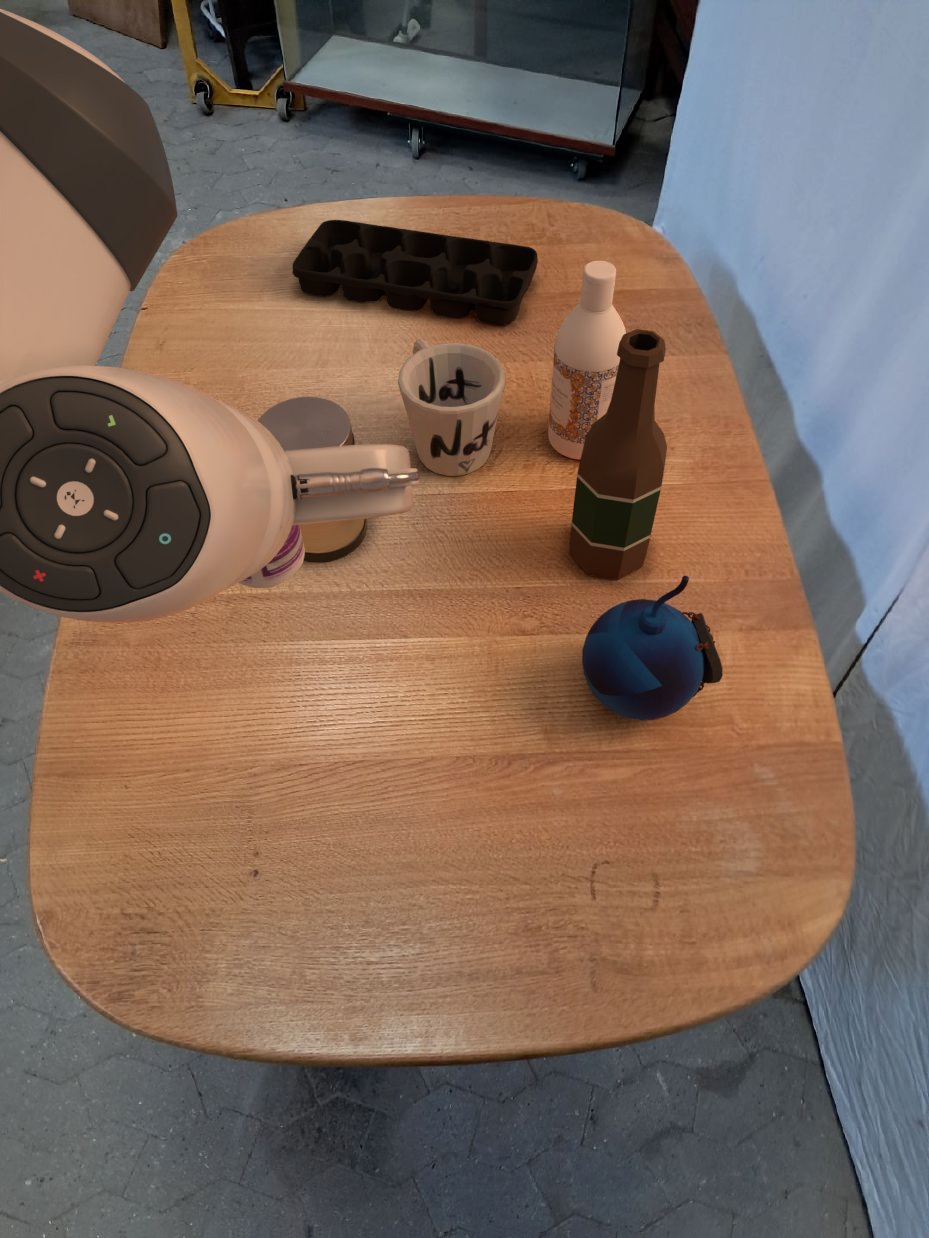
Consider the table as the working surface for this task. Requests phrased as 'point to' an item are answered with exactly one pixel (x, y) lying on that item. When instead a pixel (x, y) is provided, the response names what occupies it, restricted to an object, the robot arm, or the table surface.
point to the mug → (452, 404)
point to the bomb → (649, 657)
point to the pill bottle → (280, 563)
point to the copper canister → (307, 429)
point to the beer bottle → (621, 467)
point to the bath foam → (585, 361)
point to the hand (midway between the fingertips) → (247, 494)
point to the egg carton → (416, 270)
